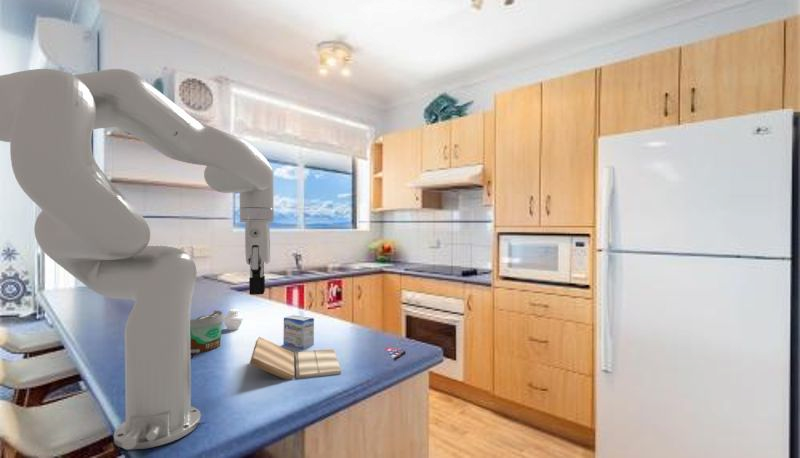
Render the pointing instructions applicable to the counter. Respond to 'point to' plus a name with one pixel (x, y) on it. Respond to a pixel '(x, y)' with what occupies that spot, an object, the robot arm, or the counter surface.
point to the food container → (205, 332)
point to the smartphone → (395, 352)
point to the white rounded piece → (233, 319)
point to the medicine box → (298, 331)
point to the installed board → (316, 363)
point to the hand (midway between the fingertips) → (257, 292)
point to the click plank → (273, 359)
